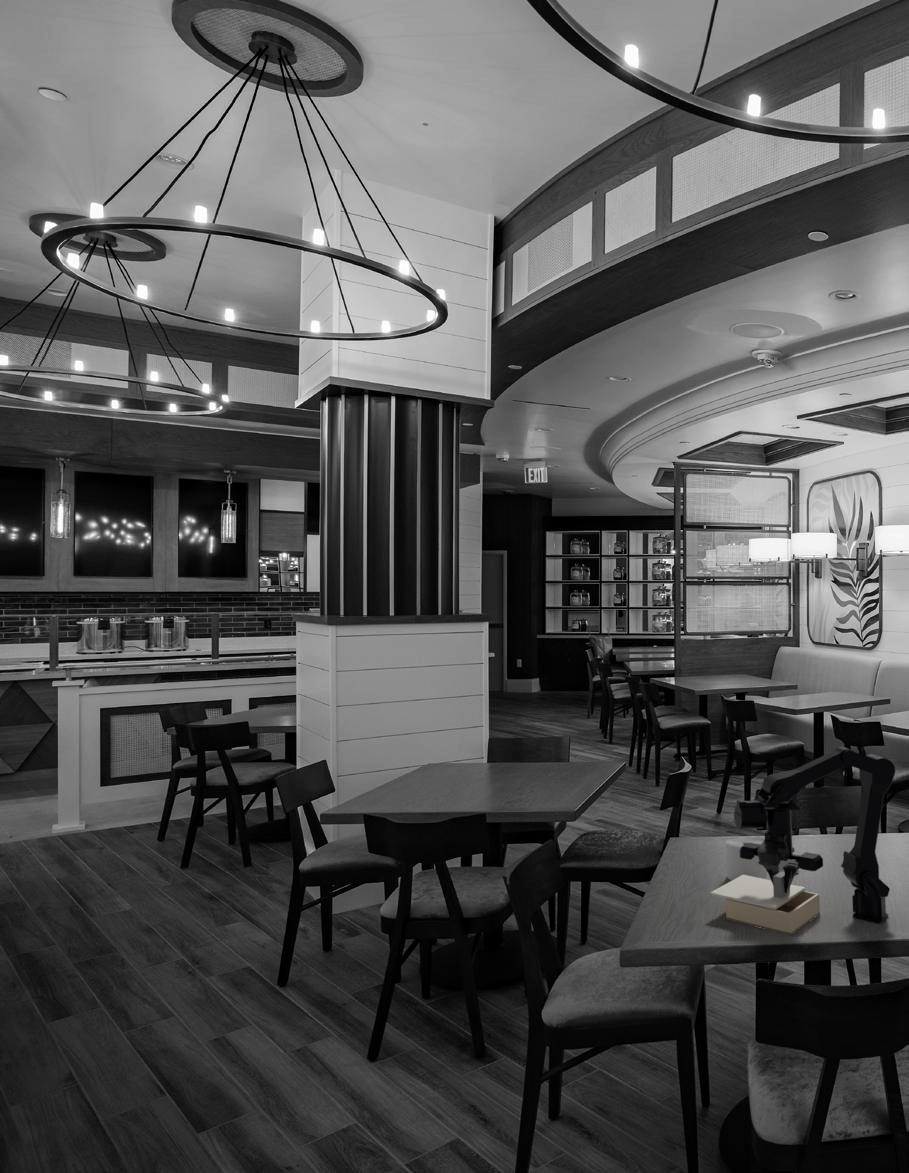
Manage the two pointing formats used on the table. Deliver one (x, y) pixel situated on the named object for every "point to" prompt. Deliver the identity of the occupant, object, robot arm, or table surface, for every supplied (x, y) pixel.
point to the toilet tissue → (743, 860)
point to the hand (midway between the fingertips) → (781, 891)
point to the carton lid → (758, 891)
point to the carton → (776, 913)
